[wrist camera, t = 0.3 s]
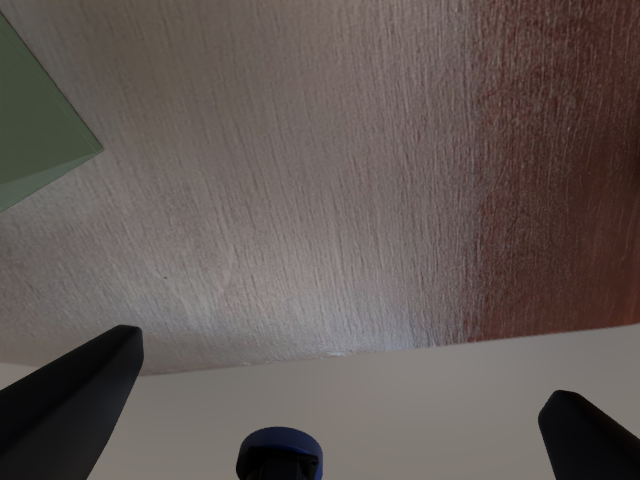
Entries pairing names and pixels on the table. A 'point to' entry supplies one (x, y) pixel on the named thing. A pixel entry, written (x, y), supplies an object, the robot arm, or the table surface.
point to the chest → (34, 124)
